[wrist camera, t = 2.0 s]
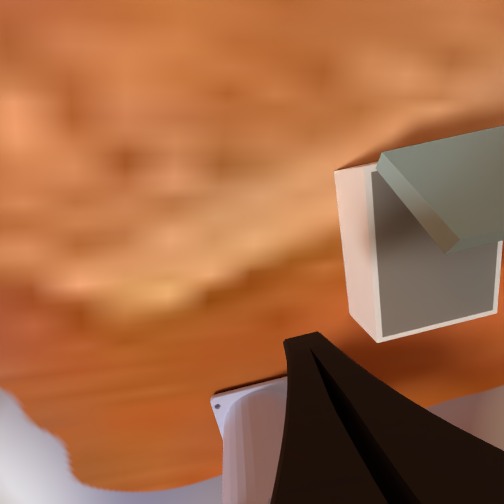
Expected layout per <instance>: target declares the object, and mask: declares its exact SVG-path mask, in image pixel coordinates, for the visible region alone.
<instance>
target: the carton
mask: <svg viewBox="0 0 504 504" xmlns="http://www.w3.org/2000/svg"><path fill="white" fill-rule="evenodd" d="M377 163H378V161H377V162H373V163H368V164H364V165H359V166H355V167H350V168H346V169H341V170H336V171H334V176H335V185H336V194H337V203H338V213H339V222H340V231H341V240H342V249H343V258H344V267H345V276H346V285H347V294H348V303H349V312H350V315H351V316H352V317H353V318H354V319H355V320H356V321H357V322H358V324H359V325H360V326H361V327H362V328H363V329H364V330H365V331H366V332H367V333H368V334H369V335H370V336H371V337H372V338H373V339H374V340H375V341H376V342H377V343H380V342H384V341H388V340H392V339H396V338H400V337H404V336H408V335H412V334H416V333H420V332H424V331H428V330H432V329H436V328H440V327H444V326H448V325H452V324H456V323H460V322H464V321H468V320H472V319H476V318H480V317H484V316H488V315H492V314H496V313H497V306H498V294H499V282H500V269H501V257H502V245H503V241H498V242H494V243H490V244H486V245H482V246H478V247H473V248H469V249H465V250H461V251H457V252H452V253H448V254H445V253H444V252H443V251H442V250H441V248H440V247H439V246H438V245H437V244H436V242H435V241H434V240H433V239H432V237H431V236H430V235H429V234H428V232H427V231H426V230H425V229H424V228H423V226H422V225H421V224H420V223H419V221H418V220H417V219H416V218H415V216H414V215H413V214H412V213H411V212H410V210H409V209H408V208H407V207H406V205H405V204H404V203H403V202H402V200H401V199H400V198H399V197H398V196H397V194H396V193H395V192H394V191H393V189H392V188H391V187H390V186H389V184H388V183H387V182H386V181H385V180H384V178H383V177H382V176H381V175H380V173H379V172H378V171H377V170H376V166H377Z"/></svg>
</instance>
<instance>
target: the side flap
mask: <svg viewBox="0 0 504 504" xmlns="http://www.w3.org/2000/svg"><path fill="white" fill-rule="evenodd" d="M376 170H377V171H378V172H379V173H380V175H381V176H382V177H383V178H384V180H385V181H386V182H387V183H388V184H389V186H390V187H391V188H392V189H393V191H394V192H395V193H396V194H397V196H398V197H399V198H400V199H401V200H402V202H403V203H404V204H405V205H406V207H407V208H408V209H409V210H410V212H411V213H412V214H413V215H414V216H415V218H416V219H417V220H418V221H419V223H420V224H421V225H422V226H423V228H424V229H425V230H426V231H427V232H428V234H429V235H430V236H431V237H432V239H433V240H434V241H435V242H436V244H437V245H438V246H439V247H440V248H441V250H442V251H443V252H444V253H445V254H448V253H452V252H457V251H461V250H465V249H469V248H473V247H478V246H482V245H486V244H490V243H494V242H498V241H503V240H504V125H503V126H498V127H494V128H489V129H485V130H480V131H476V132H471V133H466V134H462V135H457V136H453V137H448V138H444V139H439V140H435V141H430V142H425V143H421V144H416V145H412V146H407V147H403V148H398V149H394V150H389V151H384V152H382V153H381V156H380V158H379V161H378V163H377V166H376Z"/></svg>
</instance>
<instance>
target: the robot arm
mask: <svg viewBox="0 0 504 504" xmlns="http://www.w3.org/2000/svg"><path fill="white" fill-rule="evenodd" d="M283 344H284V349H285V354H286V359H287V376H286V377H282V378H278V379H274V380H270V381H267V382H263V383H259V384H255V385H251V386H247V387H243V388H239V389H235V390H231V391H227V392H223V393H219V394H215V395H213V396H212V397H211V405H212V408H213V412H214V415H215V418H216V421H217V424H218V427H219V430H220V433H221V436H222V439H223V484H222V485H223V487H222V504H504V451H503V450H501V449H499V448H497V447H494V446H493V445H491V444H489V443H487V442H485V441H483V440H481V439H479V438H477V437H475V436H473V435H472V434H470V433H467V432H465V431H464V430H462V429H460V428H458V427H456V426H454V425H452V424H450V423H449V422H447V421H445V420H443V419H442V418H440V417H438V416H436V415H434V414H432V413H431V412H429V411H428V410H426V409H424V408H423V407H421V406H419V405H418V404H416V403H414V402H413V401H411V400H409V399H408V398H406V397H405V396H403V395H402V394H400V393H399V392H397V391H395V390H394V389H392V388H391V387H389V386H388V385H387V384H385V383H384V382H382V381H381V380H379V379H378V378H376V377H375V376H374V375H372V374H371V373H369V372H368V371H367V370H365V369H364V368H363V367H361V366H360V365H359V364H357V363H356V362H355V361H353V360H352V359H351V358H349V357H348V356H347V355H346V354H344V353H343V352H342V351H341V350H339V349H338V348H337V347H336V346H335V345H333V344H332V343H331V342H330V341H329V340H328V339H326V338H325V337H324V336H323V335H322V334H321V333H319V332H318V331H317V332H313V333H309V334H305V335H301V336H297V337H293V338H289V339H285V341H284V342H283ZM216 404H219V405H216Z"/></svg>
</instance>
